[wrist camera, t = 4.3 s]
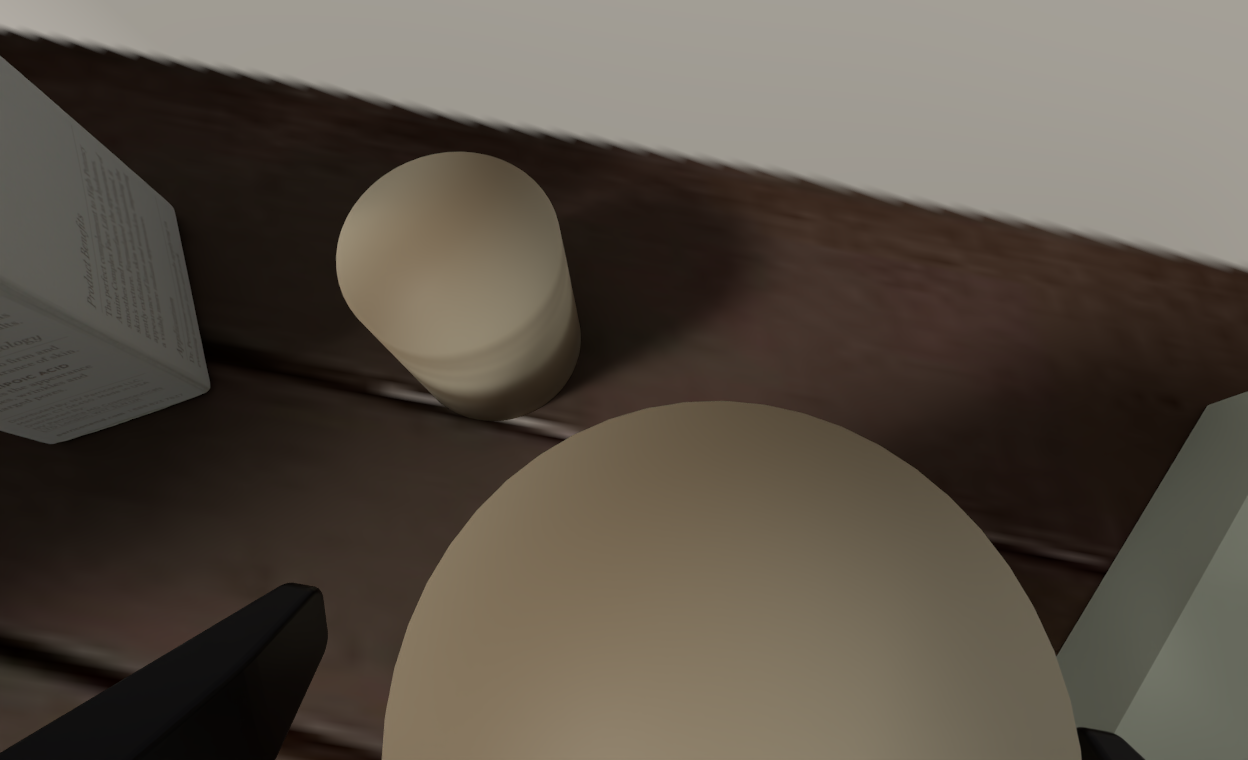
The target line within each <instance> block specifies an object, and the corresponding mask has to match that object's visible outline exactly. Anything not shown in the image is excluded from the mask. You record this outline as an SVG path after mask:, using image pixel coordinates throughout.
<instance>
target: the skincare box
mask: <svg viewBox="0 0 1248 760" xmlns="http://www.w3.org/2000/svg"><path fill="white" fill-rule="evenodd" d="M209 389H210V379H209V375H208V370H207V366H206V361H205V357H204V352H203V347H202V342H201V337H200V332H199V327H198V322H197V317H196V312H195V307H194V302H193V297H192V293H191V288H190V283H189V278H188V273H187V268H186V263H185V258H184V253H183V249H182V244H181V239H180V234H179V229H178V224H177V220H176V215H175V210H174V208H173V207H172V206H171V204H169V203H168V202H167V201H166V200H165V199H164V198H163V197H162V196H161V195H160V194H158V193H157V192H156V191H155V190H154V189H152V188H151V187H150V186H149V185H148V184H147V183H146V182H145V181H144V180H142V179H141V178H140V177H139V176H138V175H137V174H136V173H134V172H133V171H132V170H131V169H130V168H129V167H127V166H126V165H125V164H124V163H123V162H122V161H121V160H120V159H119V158H117V157H116V156H115V155H114V154H113V153H112V152H110V151H109V150H108V149H107V148H106V147H105V146H104V145H102V144H101V143H100V142H99V141H98V140H97V139H96V138H95V137H93V136H92V135H91V134H90V133H89V132H88V131H86V130H85V129H84V128H83V127H82V126H81V125H80V124H78V123H77V122H76V121H75V120H74V119H73V118H71V117H70V116H69V115H68V114H67V113H66V112H64V111H63V110H62V109H61V108H60V107H59V106H58V105H56V104H55V103H54V102H53V101H52V100H51V99H50V98H49V97H47V96H46V95H45V94H44V93H43V92H42V91H41V90H39V89H38V88H37V87H36V86H35V85H34V84H32V83H31V82H30V81H29V80H28V79H27V78H25V77H24V76H23V75H22V74H21V73H20V72H19V71H18V70H16V69H15V68H14V67H13V66H11V65H10V64H9V63H8V62H7V61H6V60H5V59H4V58H2V57H1V56H0V431H3V432H7V433H10V434H14V435H18V436H21V437H25V438H29V439H32V440H36V441H39V442H43V443H47V444H55V443H58V442H63V441H67V440H71V439H74V438H77V437H80V436H83V435H86V434H89V433H93V432H96V431H99V430H102V429H105V428H108V427H111V426H115V425H117V424H119V423H123V422H126V421H129V420H131V419H134V418H138V417H140V416H143V415H147V414H150V413H152V412H155V411H158V410H161V409H164V408H167V407H169V406H171V405H174V404H177V403H180V402H183V401H186V400H188V399H191V398H194V397H196V396H199V395H202V394H204V393H206V392H207V391H209Z"/></svg>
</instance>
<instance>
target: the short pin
mask: <svg viewBox="0 0 1248 760" xmlns="http://www.w3.org/2000/svg"><path fill="white" fill-rule="evenodd" d="M336 271H337V276H338V282H339V285H340V288H341V291H342V294H343V297H344V298H345V300H346V302H347V304H348V306H349V308H350V309H351V310H352V312H353V313H354V314H355V316H356V317H357V318H358V319H359V320H360V321H361V322H362V323H363V325H364V326H365V327H366V328H367V329H368V330H369V331H370V332H371V333H372V334H373V335H374V336H375V337H376V338H377V339H378V340H379V341H380V342H381V343H382V344H383V345H384V346H385V347H386V348H387V349H388V350H389V351H390V352H391V353H392V354H393V355H394V356H395V357H396V358H397V359H398V360H399V361H400V362H401V363H402V364H403V365H404V366H405V368H406V369H407V370H408V371H409V372H410V373H411V374H412V375H413V376H414V377H415V378H416V379H417V380H418V381H419V382H420V383H421V384H422V385H423V386H424V387H425V388H426V389H427V390H428V391H429V392H430V393H431V394H432V395H433V396H434V397H435V398H436V399H437V400H438V401H439V402H440V403H441V404H443V405H444V406H445V407H447V408H448V409H450V410H452V411H454V412H456V413H457V414H460V415H463V416H465V417H468V418H472V419H477V420H484V421H502V420H508V419H514V418H517V417H520V416H524V415H526V414H528V413H531V412H533V411H535V410H537V409H538V408H540V407H542V406H543V405H545V404H546V403H547V402H549V401H550V400H551V399H553V398H554V397H555V396H556V395H557V394H558V393H559V392H560V391H561V389H562V388H563V387H564V385H565V384H566V383H567V381H568V380H569V378H570V376H571V375H572V373H573V371H574V368H575V366H576V364H577V360H578V357H579V353H580V346H581V331H580V324H579V319H578V314H577V309H576V304H575V299H574V295H573V290H572V285H571V280H570V275H569V270H568V265H567V261H566V256H565V251H564V246H563V241H562V236H561V232H560V227H559V223H558V219H557V216H556V213H555V210H554V208H553V206H552V204H551V202H550V200H549V198H548V197H547V195H546V194H545V193H544V191H543V190H542V189H541V187H540V186H539V185H538V184H537V183H536V182H535V181H534V180H533V179H532V178H531V177H530V176H528V175H527V174H526V173H525V172H523V171H522V170H520V169H519V168H517V167H515V166H514V165H512V164H510V163H508V162H506V161H503V160H501V159H498V158H495V157H492V156H489V155H484V154H479V153H472V152H445V153H438V154H432V155H428V156H424V157H420V158H417V159H415V160H412V161H410V162H407V163H405V164H403V165H401V166H399V167H397V168H395V169H393V170H392V171H390V172H388V173H387V174H385V175H384V176H382V177H381V178H380V179H379V180H377V181H376V182H375V183H374V184H373V185H371V186H370V187H369V188H368V189H367V190H366V191H365V193H364V194H363V195H362V196H361V197H360V198H359V200H358V201H357V202H356V204H355V205H354V206H353V208H352V209H351V211H350V213H349V215H348V216H347V218H346V220H345V223H344V225H343V227H342V230H341V233H340V237H339V241H338V244H337V253H336Z"/></svg>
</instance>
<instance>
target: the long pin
mask: <svg viewBox="0 0 1248 760" xmlns="http://www.w3.org/2000/svg"><path fill="white" fill-rule="evenodd" d="M382 760H1082V757H1081V748H1080V744H1079V739H1078V734H1077V729H1076V724H1075V720H1074V715H1073V710H1072V705H1071V700H1070V697H1069V694H1068V691H1067V688H1066V685H1065V682H1064V679H1063V676H1062V673H1061V670H1060V667H1059V664H1058V661H1057V658H1056V655H1055V652H1054V650H1053V647H1052V645H1051V643H1050V641H1049V639H1048V637H1047V634H1046V632H1045V630H1044V628H1043V626H1042V624H1041V621H1040V619H1039V617H1038V615H1037V613H1036V610H1035V608H1034V606H1033V605H1032V603H1031V601H1030V600H1029V598H1028V596H1027V595H1026V593H1025V591H1024V590H1023V588H1022V586H1021V585H1020V583H1019V582H1018V580H1017V578H1016V577H1015V575H1014V573H1013V572H1012V570H1011V568H1010V567H1009V565H1008V564H1007V563H1006V561H1005V560H1004V559H1003V557H1002V556H1001V555H1000V553H999V552H998V551H997V550H996V548H995V547H994V546H993V544H992V543H991V542H990V540H989V539H988V538H987V537H986V535H985V534H984V533H983V531H982V530H981V529H980V528H979V527H978V526H977V525H976V524H975V523H974V522H973V521H972V519H971V518H970V517H969V516H968V515H967V514H966V513H965V512H964V511H963V510H962V509H961V508H960V507H959V506H958V505H957V504H956V503H955V502H954V501H953V500H952V499H951V498H950V497H949V496H948V495H947V494H946V493H944V492H943V491H942V490H941V489H940V488H938V487H937V486H936V485H935V484H934V483H932V482H931V481H930V480H929V479H928V478H926V477H925V476H924V475H923V474H921V473H920V472H919V471H918V470H917V469H915V468H914V467H912V466H911V465H909V464H908V463H906V462H905V461H903V460H901V459H900V458H898V457H897V456H895V455H894V454H892V453H891V452H889V451H888V450H886V449H885V448H883V447H881V446H880V445H878V444H876V443H874V442H872V441H870V440H868V439H866V438H864V437H862V436H860V435H858V434H856V433H854V432H852V431H850V430H847V429H845V428H843V427H841V426H838V425H835V424H833V423H830V422H827V421H824V420H821V419H818V418H816V417H813V416H810V415H807V414H804V413H800V412H795V411H791V410H786V409H782V408H777V407H773V406H768V405H762V404H752V403H741V402H731V401H708V402H684V403H678V404H671V405H665V406H659V407H652V408H647V409H643V410H640V411H636V412H633V413H630V414H626V415H623V416H619V417H616V418H612V419H609V420H607V421H605V422H602V423H600V424H598V425H595V426H593V427H591V428H589V429H586V430H584V431H582V432H579V433H577V434H575V435H573V436H571V437H569V438H568V439H566V440H564V441H563V442H561V443H559V444H558V445H556V446H554V447H553V448H551V449H549V450H547V451H546V452H544V453H542V454H541V455H539V456H538V457H536V458H535V459H534V460H533V461H531V462H530V463H529V464H527V465H526V466H525V467H524V468H522V469H521V470H520V471H518V472H517V473H516V474H515V475H513V476H512V477H511V478H509V479H508V480H507V481H506V482H505V483H504V484H503V485H502V486H501V487H500V488H499V489H498V490H497V491H496V492H495V493H494V494H493V495H492V496H491V497H490V498H489V499H488V500H487V501H486V502H485V503H484V504H483V505H482V506H481V507H480V508H479V509H478V510H477V511H476V512H475V513H474V515H473V516H472V517H471V519H470V520H469V521H468V522H467V524H466V525H465V526H464V528H463V529H462V530H461V531H460V533H459V534H458V535H457V537H456V538H455V539H454V540H453V542H452V543H451V544H450V546H449V547H448V549H447V551H446V552H445V554H444V556H443V557H442V559H441V561H440V562H439V564H438V566H437V567H436V569H435V571H434V572H433V574H432V576H431V577H430V579H429V581H428V582H427V584H426V587H425V589H424V591H423V593H422V595H421V598H420V600H419V602H418V604H417V607H416V609H415V611H414V613H413V615H412V618H411V620H410V622H409V624H408V627H407V631H406V634H405V637H404V640H403V643H402V646H401V650H400V653H399V656H398V659H397V662H396V665H395V668H394V673H393V678H392V683H391V689H390V694H389V699H388V704H387V709H386V715H385V724H384V737H383V750H382Z"/></svg>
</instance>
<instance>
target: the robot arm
mask: <svg viewBox="0 0 1248 760" xmlns="http://www.w3.org/2000/svg"><path fill="white" fill-rule="evenodd" d="M327 639H328V630H327V623H326V615H325V608H324V600H323V595H322V592H321V591H320V590H319V588H317V587H314V586H308V585H303V584H297V583H286V584H283V585H281V586H279V587H277V588H276V589H274V590H272V591H271V592H269V593H267V594H266V595H264V596H262V597H260V598H259V599H257V600H255V601H254V602H252V603H250V604H249V605H247V606H245V607H244V608H242V609H240V610H239V611H237V612H235V613H234V614H232V615H230V616H229V617H227V618H225V619H224V620H222V621H220V622H219V623H217V624H215V625H214V626H212V627H210V628H209V629H207V630H205V631H204V632H202V633H200V634H199V635H197V636H195V637H193V638H192V639H190V640H188V641H187V642H185V643H183V644H182V645H180V646H178V647H177V648H175V649H173V650H172V651H170V652H168V653H167V654H165V655H163V656H162V657H160V658H158V659H157V660H155V661H153V662H152V663H150V664H148V665H147V666H145V667H143V668H142V669H140V670H138V671H137V672H135V673H133V674H132V675H130V676H128V677H126V678H125V679H123V680H121V681H120V682H118V683H116V684H115V685H113V686H111V687H110V688H108V689H106V690H105V691H103V692H101V693H100V694H98V695H96V696H95V697H93V698H91V699H90V700H88V701H86V702H85V703H83V704H81V705H80V706H78V707H76V708H75V709H73V710H71V711H70V712H68V713H66V714H65V715H63V716H61V717H59V718H58V719H56V720H54V721H53V722H51V723H49V724H48V725H46V726H44V727H43V728H41V729H39V730H38V731H36V732H34V733H33V734H31V735H29V736H28V737H26V738H24V739H23V740H21V741H19V742H18V743H16V744H14V745H13V746H11V747H9V748H8V749H6V750H4V751H3V752H1V753H0V760H275V759H276V757H277V755H278V753H279V751H280V748H281V746H282V744H283V742H284V740H285V737H286V735H287V733H288V731H289V729H290V727H291V724H292V722H293V720H294V718H295V716H296V713H297V711H298V709H299V707H300V705H301V702H302V700H303V698H304V696H305V694H306V692H307V689H308V687H309V685H310V683H311V681H312V678H313V676H314V674H315V672H316V670H317V668H318V665H319V663H320V661H321V659H322V657H323V654H324V652H325V649H326V645H327ZM1076 729H1077V734H1078V739H1079V744H1080V748H1081V757H1082V760H1145V759H1144V758H1143V757H1142V756H1141V755H1140V754H1139V753H1138V752H1137V751H1136V750H1135V749H1134V748H1133V747H1131V746H1130V745H1129V744H1128V743H1127V742H1126V741H1125V740H1124V739H1123V738H1121V737H1120V736H1118V735H1116V734H1114V733H1112V732H1108V731H1103V730H1097V729H1092V728H1086V727H1078V728H1076Z"/></svg>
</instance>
